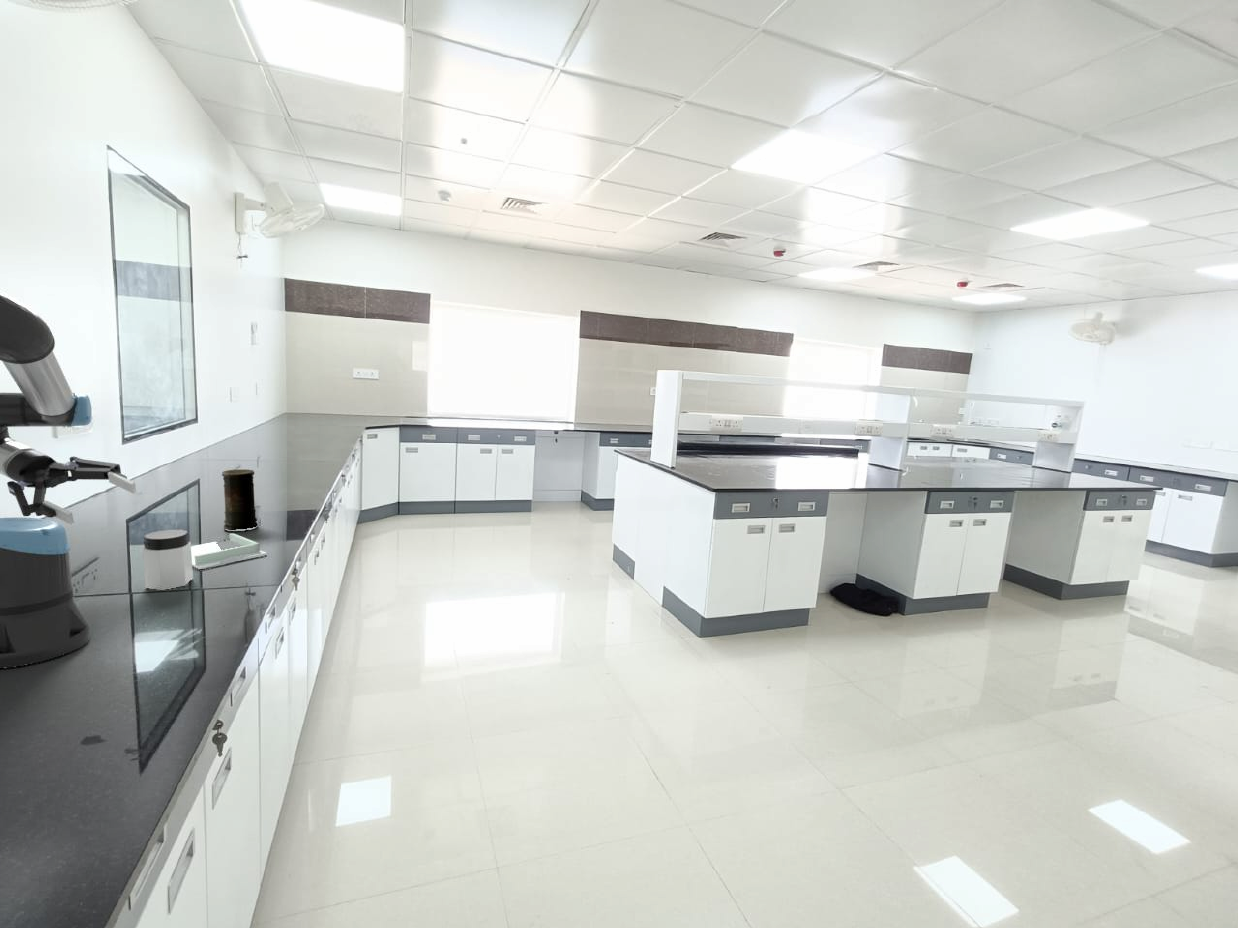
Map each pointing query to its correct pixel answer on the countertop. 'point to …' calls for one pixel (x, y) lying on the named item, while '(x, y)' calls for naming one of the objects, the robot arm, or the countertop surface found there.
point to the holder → (223, 551)
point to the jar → (167, 559)
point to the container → (239, 499)
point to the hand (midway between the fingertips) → (104, 502)
